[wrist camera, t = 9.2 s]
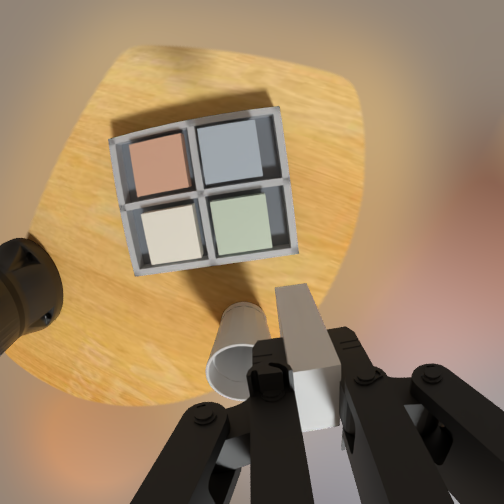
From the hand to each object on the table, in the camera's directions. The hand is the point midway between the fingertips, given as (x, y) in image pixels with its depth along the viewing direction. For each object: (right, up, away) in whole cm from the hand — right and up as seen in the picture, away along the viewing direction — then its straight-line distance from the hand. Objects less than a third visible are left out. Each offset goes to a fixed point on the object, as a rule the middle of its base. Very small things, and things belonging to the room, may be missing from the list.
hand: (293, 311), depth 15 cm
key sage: (-3, +6, +22) cm, 23 cm away
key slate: (-4, +14, +19) cm, 23 cm away
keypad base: (-8, +10, +24) cm, 27 cm away
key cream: (-11, +5, +22) cm, 25 cm away
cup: (-3, -7, +29) cm, 30 cm away
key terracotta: (-12, +13, +20) cm, 26 cm away
